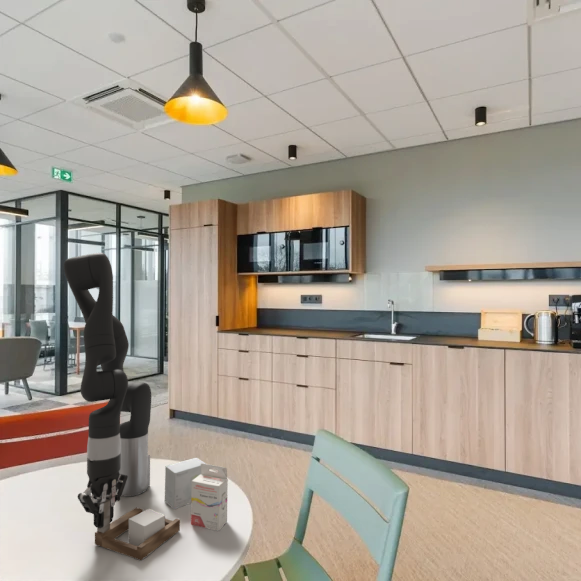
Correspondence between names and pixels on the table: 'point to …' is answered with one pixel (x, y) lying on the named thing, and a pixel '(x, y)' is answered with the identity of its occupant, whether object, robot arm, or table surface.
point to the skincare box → (181, 481)
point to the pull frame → (119, 526)
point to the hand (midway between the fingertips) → (103, 524)
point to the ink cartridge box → (209, 498)
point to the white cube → (145, 526)
